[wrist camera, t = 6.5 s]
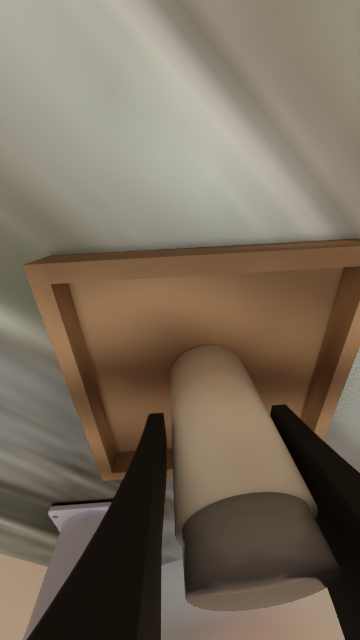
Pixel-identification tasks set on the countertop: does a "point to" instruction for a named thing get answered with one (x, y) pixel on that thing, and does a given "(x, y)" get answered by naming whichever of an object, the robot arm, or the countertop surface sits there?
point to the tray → (198, 329)
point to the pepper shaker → (239, 493)
